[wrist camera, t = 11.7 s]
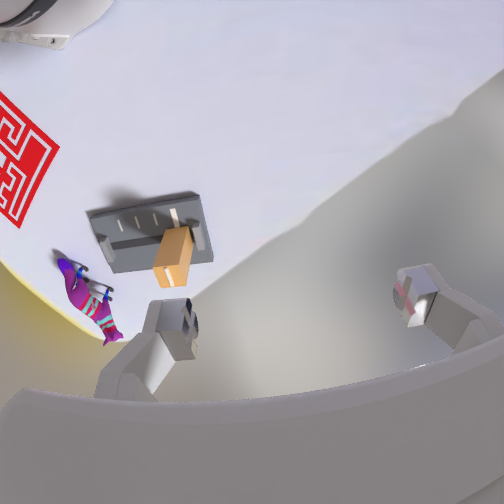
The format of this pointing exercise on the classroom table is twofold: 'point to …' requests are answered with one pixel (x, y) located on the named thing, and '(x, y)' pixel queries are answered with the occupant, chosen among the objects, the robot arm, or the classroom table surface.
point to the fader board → (150, 232)
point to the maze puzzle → (22, 159)
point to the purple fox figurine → (89, 301)
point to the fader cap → (174, 257)
